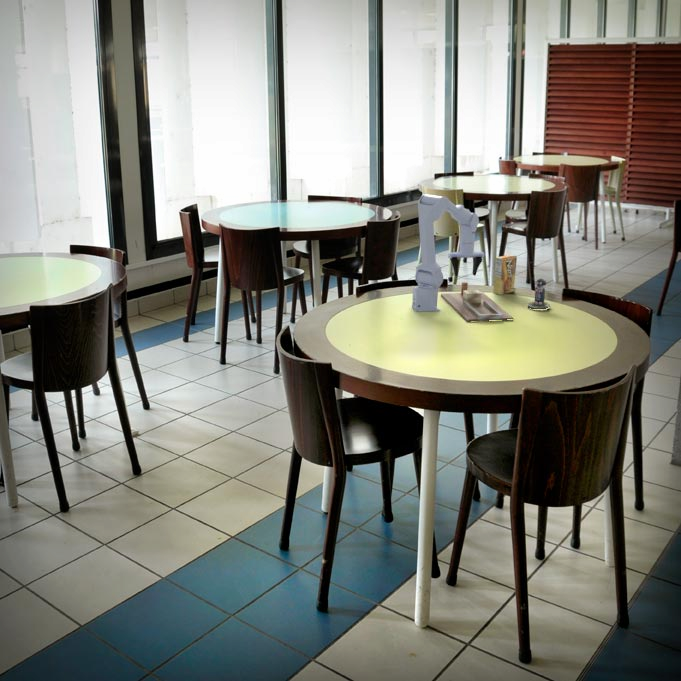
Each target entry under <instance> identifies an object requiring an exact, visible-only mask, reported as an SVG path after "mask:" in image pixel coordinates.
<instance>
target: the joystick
mask: <svg viewBox="0 0 681 681" xmlns="http://www.w3.org/2000/svg"><path fill="white" fill-rule="evenodd" d="M468 284H469V283H468V282H466V281H463V282H461V288H460V289H461V290H460V293H461V295H463V301H467V302H468V303H469V304H471V303H481V296H482V293H483V292H481V291H479V290H478V289H473V290H472V289H471V290H470V289H469V290H468Z"/></svg>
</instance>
